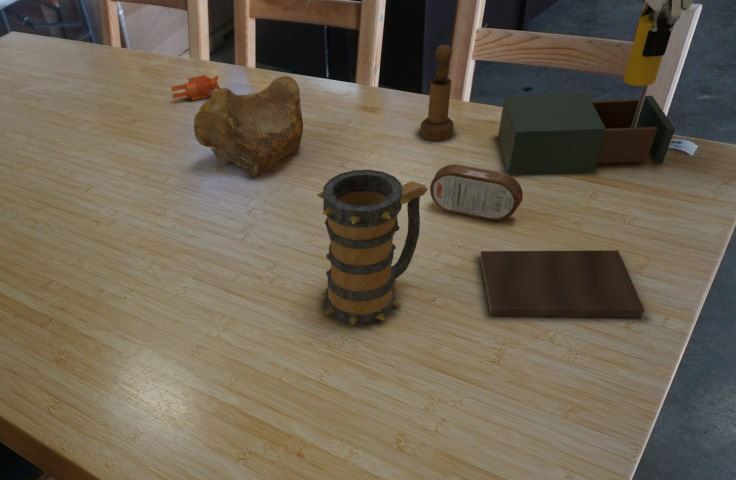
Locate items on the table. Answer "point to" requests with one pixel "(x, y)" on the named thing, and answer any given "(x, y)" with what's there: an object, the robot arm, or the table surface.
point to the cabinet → (550, 134)
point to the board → (559, 284)
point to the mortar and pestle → (439, 101)
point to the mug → (366, 242)
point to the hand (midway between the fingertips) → (648, 48)
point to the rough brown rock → (252, 125)
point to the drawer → (633, 131)
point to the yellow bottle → (638, 66)
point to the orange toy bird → (197, 87)
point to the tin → (476, 192)
